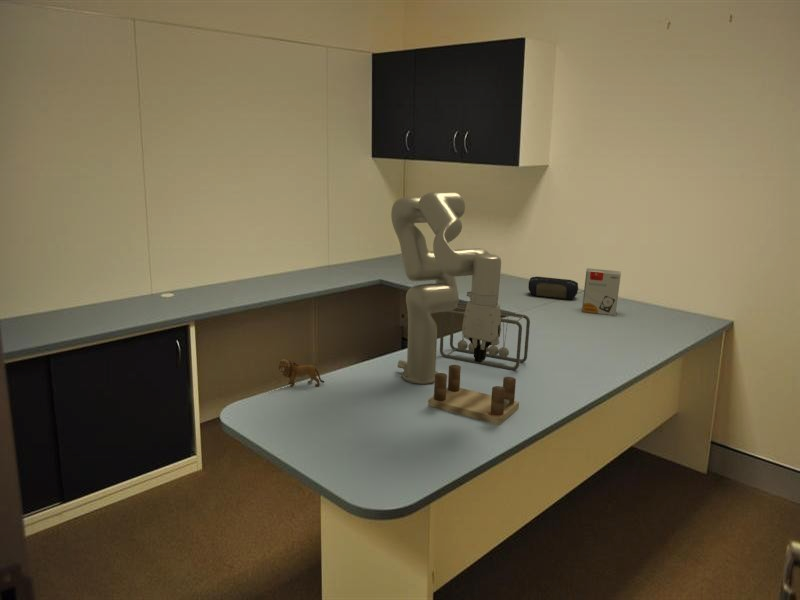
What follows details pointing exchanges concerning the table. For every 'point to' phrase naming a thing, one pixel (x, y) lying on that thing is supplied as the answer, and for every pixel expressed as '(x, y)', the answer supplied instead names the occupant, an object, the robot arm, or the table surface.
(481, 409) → the stool seat
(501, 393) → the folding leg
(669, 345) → the table surface
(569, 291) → the portable speaker
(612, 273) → the hard drive box
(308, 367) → the lion figurine
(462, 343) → the newton's cradle
